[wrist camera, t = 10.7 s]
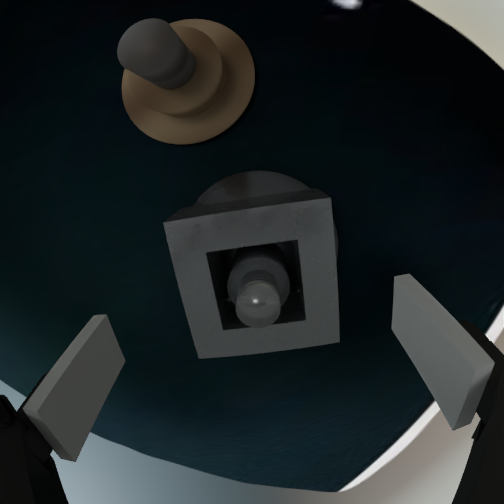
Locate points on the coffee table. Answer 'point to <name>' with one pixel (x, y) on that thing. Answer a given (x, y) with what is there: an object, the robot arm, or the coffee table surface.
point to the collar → (249, 234)
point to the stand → (184, 78)
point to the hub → (257, 251)
